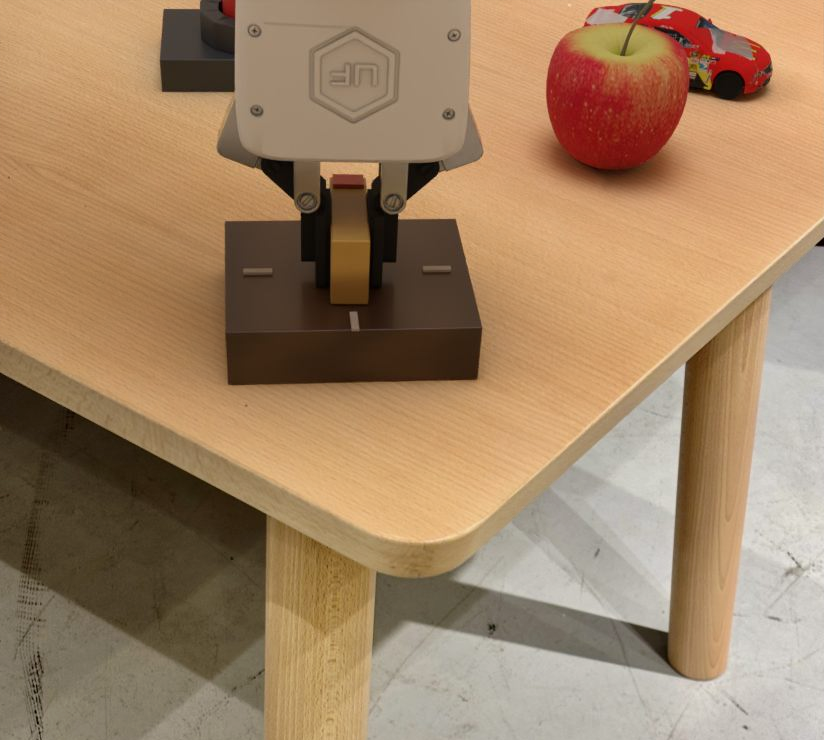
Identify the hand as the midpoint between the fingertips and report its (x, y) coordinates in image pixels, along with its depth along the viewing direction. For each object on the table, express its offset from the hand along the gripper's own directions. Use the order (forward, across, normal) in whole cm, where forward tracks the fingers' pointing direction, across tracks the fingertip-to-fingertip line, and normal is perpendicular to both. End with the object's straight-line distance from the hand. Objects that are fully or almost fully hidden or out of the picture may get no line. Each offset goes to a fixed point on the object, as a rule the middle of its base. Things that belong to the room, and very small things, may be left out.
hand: (348, 269), depth 68 cm
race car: (+3, +23, +30) cm, 38 cm away
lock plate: (+3, 0, 0) cm, 3 cm away
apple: (+3, +16, +18) cm, 24 cm away
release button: (0, -5, +30) cm, 30 cm away
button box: (+3, -5, +30) cm, 31 cm away
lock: (0, 0, 0) cm, 0 cm away
